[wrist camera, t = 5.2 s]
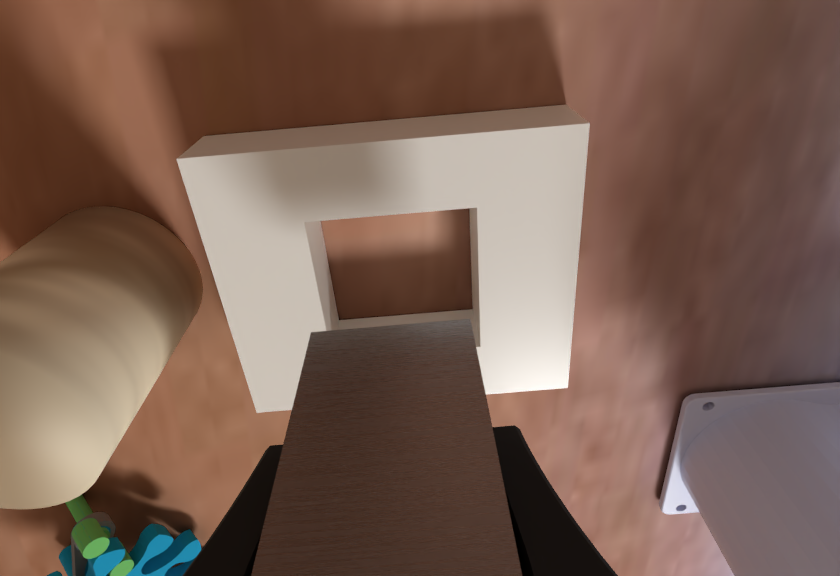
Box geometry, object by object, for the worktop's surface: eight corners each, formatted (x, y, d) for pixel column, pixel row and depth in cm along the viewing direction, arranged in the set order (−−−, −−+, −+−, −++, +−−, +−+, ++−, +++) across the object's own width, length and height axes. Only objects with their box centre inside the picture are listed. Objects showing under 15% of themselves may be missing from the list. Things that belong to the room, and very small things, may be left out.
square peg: (470, 318, 13) (545, 689, 6) (474, 433, 15) (535, 808, 8) (310, 331, 13) (217, 714, 6) (336, 444, 15) (285, 826, 9)
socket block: (566, 104, 18) (589, 123, 15) (551, 348, 23) (567, 387, 20) (203, 136, 18) (176, 158, 16) (270, 371, 23) (256, 412, 21)
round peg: (175, 199, 19) (45, 331, 12) (220, 333, 22) (136, 500, 15) (13, 213, 19) (-209, 352, 12) (79, 344, 22) (-69, 516, 15)
